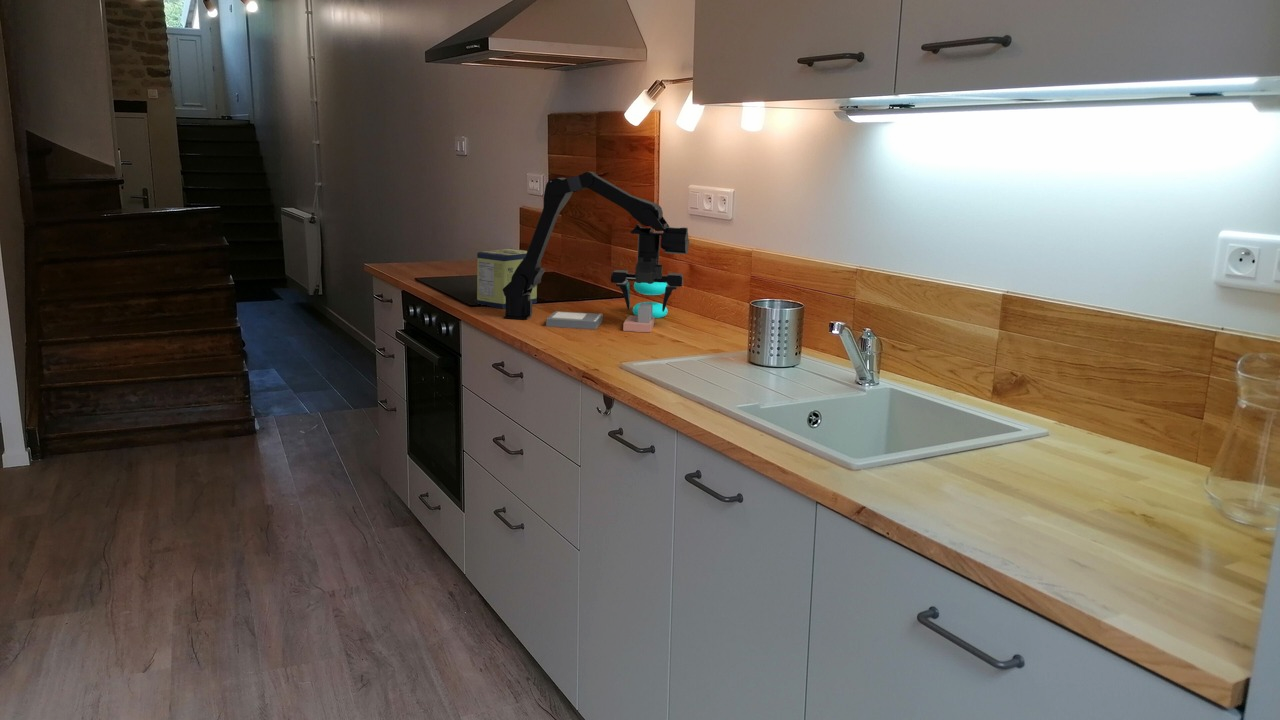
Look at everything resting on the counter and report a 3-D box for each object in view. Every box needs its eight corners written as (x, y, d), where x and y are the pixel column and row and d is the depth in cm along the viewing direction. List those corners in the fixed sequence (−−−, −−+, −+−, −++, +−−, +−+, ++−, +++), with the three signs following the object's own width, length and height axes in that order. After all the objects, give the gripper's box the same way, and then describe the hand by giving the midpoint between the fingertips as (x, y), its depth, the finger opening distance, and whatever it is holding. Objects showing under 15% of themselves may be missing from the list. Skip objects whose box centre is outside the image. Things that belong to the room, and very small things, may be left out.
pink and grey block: (623, 330, 244) (624, 308, 242) (628, 322, 255) (629, 300, 254) (649, 332, 243) (650, 309, 242) (654, 323, 255) (655, 302, 253)
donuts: (664, 284, 259) (629, 281, 262) (662, 320, 261) (628, 317, 264) (672, 280, 269) (639, 277, 271) (671, 314, 271) (637, 311, 273)
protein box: (537, 303, 280) (538, 251, 277) (503, 309, 267) (503, 255, 264) (510, 298, 286) (511, 248, 282) (475, 305, 273) (476, 251, 269)
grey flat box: (546, 326, 246) (546, 318, 245) (555, 318, 257) (555, 310, 257) (595, 329, 244) (596, 321, 244) (602, 321, 256) (602, 313, 255)
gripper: (608, 253, 237) (606, 313, 241) (682, 257, 236) (678, 318, 239) (614, 248, 248) (612, 306, 252) (684, 252, 246) (681, 310, 250)
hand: (645, 310), depth 248 cm, fingers open, 9 cm apart
